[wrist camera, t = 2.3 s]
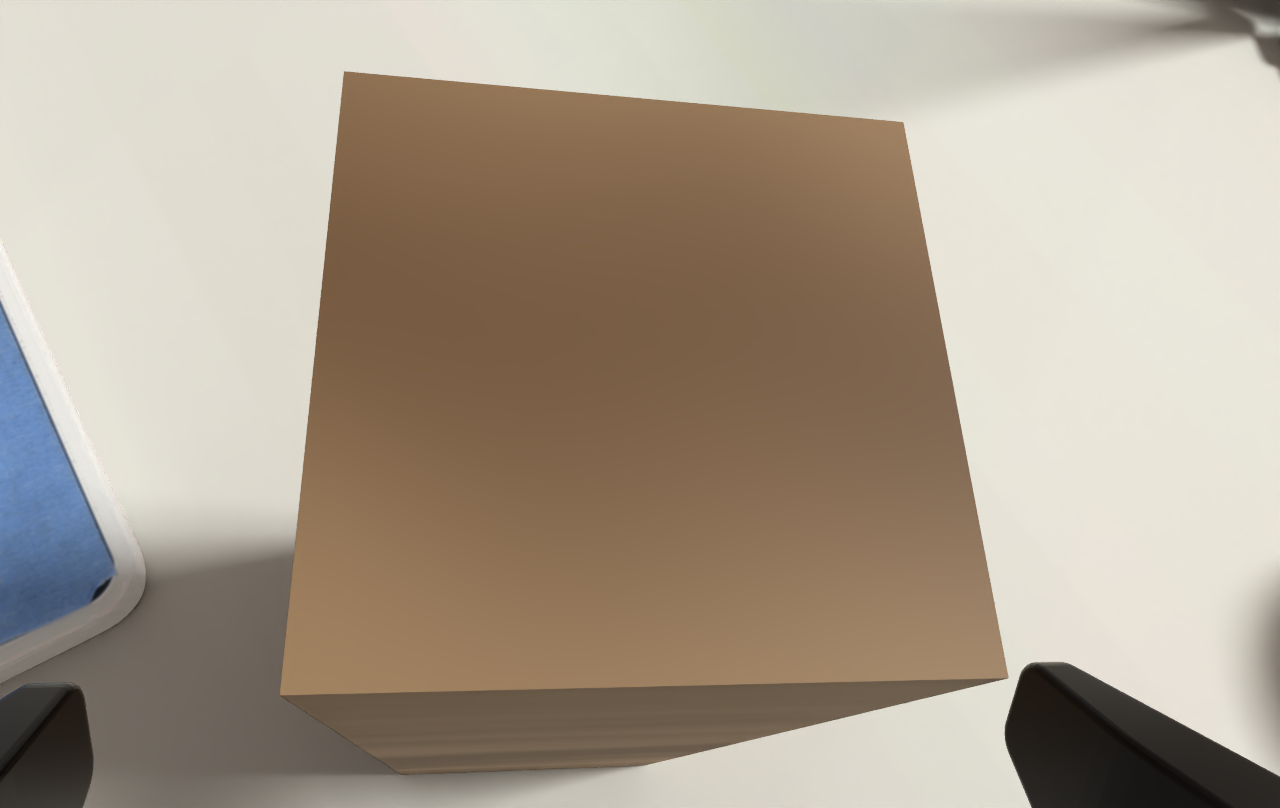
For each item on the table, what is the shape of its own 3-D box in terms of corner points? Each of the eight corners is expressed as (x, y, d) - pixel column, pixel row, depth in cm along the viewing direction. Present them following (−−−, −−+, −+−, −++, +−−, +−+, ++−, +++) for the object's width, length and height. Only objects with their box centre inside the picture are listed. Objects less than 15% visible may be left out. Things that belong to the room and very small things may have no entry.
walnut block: (644, 765, 18) (1009, 678, 6) (401, 774, 17) (279, 697, 5) (635, 534, 20) (902, 121, 8) (414, 533, 19) (342, 70, 7)
